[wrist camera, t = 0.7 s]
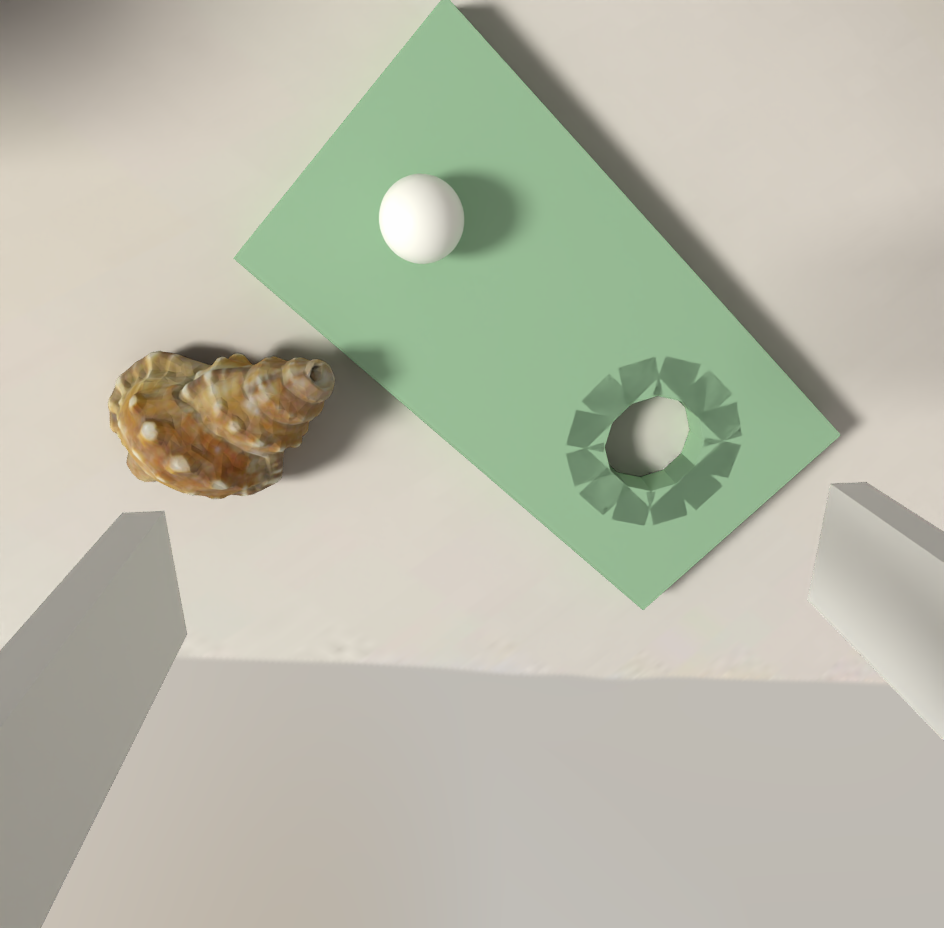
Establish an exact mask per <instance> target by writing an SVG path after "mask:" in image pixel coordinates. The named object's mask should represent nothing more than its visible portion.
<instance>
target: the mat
mask: <svg viewBox="0 0 944 928" xmlns="http://www.w3.org/2000/svg"><path fill="white" fill-rule="evenodd" d="M412 174H429V175H433V176H436V177H438V178H440V179H442V180H443V181H445V182H446V183H447V184H449V185H450V186H451V187H452V188H453V190H454V191H455V192H456V194H457V195H458V197H459V199H460V201H461V204H462V207H463V211H464V228H463V233H462V236H461V238H460V241H459V242H458V244H457V246H456V247H455V248H454V250H453V251H452V252H451V253H450V254H448V255H447V256H446V257H444V258H443V259H441V260H439V261H436V262H433V263H428V264H417V263H412V262H409V261H406V260H404V259H402V258H401V257H399V256H398V255H396V254H395V253H394V252H393V251H392V250H391V249H390V248H389V246H388V245H387V244H386V242H385V240H384V238H383V236H382V233H381V230H380V225H379V210H380V206H381V202H382V200H383V197H384V196H385V194H386V192H387V191H388V189H389V188H390V187H391V186H392V185H393V184H394V183H395V182H397V181H398V180H400V179H401V178H403V177H406V176H408V175H412ZM234 259H235V260H236V261H237V262H238V263H239V264H241V265H242V266H243V267H244V268H245V269H246V270H248V271H249V272H250V273H251V274H252V275H253V276H255V277H256V278H257V279H258V280H259V281H260V282H262V283H263V284H264V285H265V286H266V287H267V288H269V289H270V290H271V291H272V292H273V293H274V294H276V295H277V296H278V297H279V298H280V299H281V300H283V301H284V302H285V303H286V304H287V305H288V306H289V307H291V308H292V309H293V310H294V311H295V312H296V313H298V314H299V315H300V316H301V317H302V318H303V319H305V320H306V321H307V322H308V323H309V324H310V325H312V326H313V327H314V328H315V329H316V330H317V331H319V332H320V333H321V334H322V335H323V336H324V337H326V338H327V339H328V340H329V341H330V342H331V343H333V344H334V345H335V346H336V347H337V348H338V349H340V350H341V351H342V352H343V353H344V354H345V355H347V356H348V357H349V358H350V359H351V360H352V361H354V362H355V363H356V364H357V365H358V366H359V367H360V368H362V369H363V370H364V371H365V372H366V373H367V374H369V375H370V376H371V377H372V378H373V379H374V380H376V381H377V382H378V383H379V384H380V385H381V386H383V387H384V388H385V389H386V390H387V391H388V392H390V393H391V394H392V395H393V396H394V397H395V398H397V399H398V400H399V401H400V402H401V403H402V404H404V405H405V406H406V407H407V408H408V409H409V410H411V411H412V412H413V413H414V414H415V415H416V416H418V417H419V418H420V419H421V420H422V421H423V422H425V423H426V424H427V425H428V426H429V427H430V428H431V429H433V430H434V431H435V432H436V433H437V434H438V435H440V436H441V437H442V438H443V439H444V440H445V441H447V442H448V443H449V444H450V445H451V446H452V447H454V448H455V449H456V450H457V451H458V452H459V453H461V454H462V455H463V456H464V457H465V458H466V459H468V460H469V461H470V462H471V463H472V464H473V465H475V466H476V467H477V468H478V469H479V470H480V471H482V472H483V473H484V474H485V475H486V476H487V477H489V478H490V479H491V480H492V481H493V482H494V483H495V484H497V485H498V486H499V487H500V488H501V489H502V490H504V491H505V492H506V493H507V494H508V495H509V496H511V497H512V498H513V499H514V500H515V501H516V502H518V503H519V504H520V505H521V506H522V507H523V508H525V509H526V510H527V511H528V512H529V513H530V514H532V515H533V516H534V517H535V518H536V519H537V520H539V521H540V522H541V523H542V524H543V525H544V526H546V527H547V528H548V529H549V530H550V531H551V532H553V533H554V534H555V535H556V536H557V537H558V538H560V539H561V540H562V541H563V542H564V543H565V544H566V545H568V546H569V547H570V548H571V549H572V550H573V551H575V552H576V553H577V554H578V555H579V556H580V557H582V558H583V559H584V560H585V561H586V562H587V563H589V564H590V565H591V566H592V567H593V568H594V569H596V570H597V571H598V572H599V573H600V574H601V575H603V576H604V577H605V578H606V579H607V580H608V581H610V582H611V583H612V584H613V585H614V586H615V587H617V588H618V589H619V590H620V591H621V592H622V593H624V594H625V595H626V596H627V597H628V598H629V599H630V600H632V601H633V602H634V603H635V604H636V605H637V606H639V607H640V608H641V609H642V610H644V609H645V608H646V607H647V606H649V605H650V604H651V603H652V602H653V601H654V600H655V599H656V598H658V597H659V596H660V595H661V594H662V593H663V592H664V591H665V590H667V589H668V588H669V587H670V586H671V585H672V584H673V583H674V582H676V581H677V580H678V579H679V578H680V577H681V576H682V575H684V574H685V573H686V572H687V571H688V570H689V569H690V568H691V567H693V566H694V565H695V564H696V563H697V562H698V561H699V560H700V559H702V558H703V557H704V556H705V555H706V554H707V553H708V552H709V551H711V550H712V549H713V548H714V547H715V546H716V545H717V544H719V543H720V542H721V541H722V540H723V539H724V538H725V537H726V536H728V535H729V534H730V533H731V532H732V531H733V530H734V529H735V528H737V527H738V526H739V525H740V524H741V523H742V522H743V521H744V520H746V519H747V518H748V517H749V516H750V515H751V514H752V513H754V512H755V511H756V510H757V509H758V508H759V507H760V506H761V505H763V504H764V503H765V502H766V501H767V500H768V499H769V498H770V497H772V496H773V495H774V494H775V493H776V492H777V491H778V490H779V489H781V488H782V487H783V486H784V485H785V484H786V483H787V482H789V481H790V480H791V479H792V478H793V477H794V476H795V475H796V474H798V473H799V472H800V471H801V470H802V469H803V468H804V467H805V466H807V465H808V464H809V463H810V462H811V461H812V460H813V459H814V458H816V457H817V456H818V455H819V454H820V453H821V452H822V451H824V450H825V449H826V448H827V447H828V446H829V445H830V444H831V443H833V442H834V441H835V440H836V439H837V438H838V437H839V436H840V433H839V432H838V431H837V430H836V429H835V428H834V427H833V426H832V425H831V423H830V422H829V421H828V420H827V419H826V418H825V417H824V416H823V415H822V413H821V412H820V411H819V410H818V409H817V408H816V407H815V406H814V405H813V403H812V402H811V401H810V400H809V399H808V398H807V397H806V396H805V395H804V393H803V392H802V391H801V390H800V389H799V388H798V387H797V386H796V385H795V383H794V382H793V381H792V380H791V379H790V378H789V377H788V376H787V375H786V373H785V372H784V371H783V370H782V369H781V368H780V367H779V366H778V365H777V363H776V362H775V361H774V360H773V359H772V358H771V357H770V356H769V355H768V353H767V352H766V351H765V350H764V349H763V348H762V347H761V346H760V345H759V343H758V342H757V341H756V340H755V339H754V338H753V337H752V336H751V335H750V333H749V332H748V331H747V330H746V329H745V328H744V327H743V326H742V325H741V323H740V322H739V321H738V320H737V319H736V318H735V317H734V316H733V315H732V313H731V312H730V311H729V310H728V309H727V308H726V307H725V306H724V305H723V303H722V302H721V301H720V300H719V299H718V298H717V297H716V296H715V295H714V293H713V292H712V291H711V290H710V289H709V288H708V287H707V286H706V285H705V283H704V282H703V281H702V280H701V279H700V278H699V277H698V276H697V275H696V273H695V272H694V271H693V270H692V269H691V268H690V267H689V266H688V264H687V263H686V262H685V261H684V260H683V259H682V258H681V257H680V256H679V254H678V253H677V252H676V251H675V250H674V249H673V248H672V247H671V246H670V244H669V243H668V242H667V241H666V240H665V239H664V238H663V237H662V236H661V234H660V233H659V232H658V231H657V230H656V229H655V228H654V227H653V226H652V224H651V223H650V222H649V221H648V220H647V219H646V218H645V217H644V216H643V214H642V213H641V212H640V211H639V210H638V209H637V208H636V207H635V206H634V204H633V203H632V202H631V201H630V200H629V199H628V198H627V197H626V196H625V194H624V193H623V192H622V191H621V190H620V189H619V188H618V187H617V186H616V184H615V183H614V182H613V181H612V180H611V179H610V178H609V177H608V176H607V174H606V173H605V172H604V171H603V170H602V169H601V168H600V167H599V166H598V164H597V163H596V162H595V161H594V160H593V159H592V158H591V157H590V156H589V154H588V153H587V152H586V151H585V150H584V149H583V148H582V147H581V146H580V144H579V143H578V142H577V141H576V140H575V139H574V138H573V137H572V136H571V134H570V133H569V132H568V131H567V130H566V129H565V128H564V127H563V126H562V124H561V123H560V122H559V121H558V120H557V119H556V118H555V117H554V116H553V114H552V113H551V112H550V111H549V110H548V109H547V108H546V107H545V106H544V104H543V103H542V102H541V101H540V100H539V99H538V98H537V97H536V96H535V94H534V93H533V92H532V91H531V90H530V89H529V88H528V87H527V86H526V84H525V83H524V82H523V81H522V80H521V79H520V78H519V77H518V76H517V74H516V73H515V72H514V71H513V70H512V69H511V68H510V67H509V66H508V64H507V63H506V62H505V61H504V60H503V59H502V58H501V57H500V56H499V54H498V53H497V52H496V51H495V50H494V49H493V48H492V47H491V46H490V44H489V43H488V42H487V41H486V40H485V39H484V38H483V37H482V35H481V34H480V33H479V32H478V31H477V30H476V29H475V28H474V27H473V25H472V24H471V23H470V22H469V21H468V20H467V19H466V18H465V17H464V15H463V14H462V13H461V12H460V11H459V10H458V9H457V8H456V7H455V5H454V4H453V3H452V2H451V1H450V0H441V1H440V2H439V3H438V5H437V6H436V7H435V8H434V10H433V11H432V12H431V13H430V15H429V16H428V17H427V18H426V20H425V21H424V22H423V23H422V25H421V26H420V27H419V28H418V29H417V31H416V32H415V33H414V34H413V36H412V37H411V38H410V39H409V41H408V42H407V43H406V44H405V46H404V47H403V48H402V49H401V51H400V52H399V53H398V54H397V56H396V57H395V58H394V59H393V61H392V62H391V63H390V64H389V66H388V67H387V68H386V69H385V70H384V72H383V73H382V74H381V75H380V77H379V78H378V79H377V80H376V82H375V83H374V84H373V85H372V87H371V88H370V89H369V90H368V92H367V93H366V94H365V95H364V97H363V98H362V99H361V100H360V102H359V103H358V104H357V105H356V107H355V108H354V109H353V110H352V111H351V113H350V114H349V115H348V116H347V118H346V119H345V120H344V121H343V123H342V124H341V125H340V126H339V128H338V129H337V130H336V131H335V133H334V134H333V135H332V136H331V138H330V139H329V140H328V141H327V143H326V144H325V145H324V146H323V148H322V149H321V150H320V151H319V152H318V154H317V155H316V156H315V157H314V159H313V160H312V161H311V162H310V164H309V165H308V166H307V167H306V169H305V170H304V171H303V172H302V174H301V175H300V176H299V177H298V179H297V180H296V181H295V182H294V184H293V185H292V186H291V187H290V189H289V190H288V191H287V192H286V194H285V195H284V196H283V197H282V198H281V200H280V201H279V202H278V203H277V205H276V206H275V207H274V208H273V210H272V211H271V212H270V213H269V215H268V216H267V217H266V218H265V220H264V221H263V222H262V223H261V225H260V226H259V227H258V228H257V230H256V231H255V232H254V233H253V235H252V236H251V237H250V238H249V239H248V241H247V242H246V243H245V244H244V246H243V247H242V248H241V249H240V251H239V252H238V253H237V254H236V256H235V257H234ZM656 396H660V397H665V398H669V399H674V400H678V401H679V402H680V403H681V404H682V405H683V406H684V407H685V409H686V414H687V419H688V424H689V429H690V431H689V433H688V436H687V439H686V442H685V445H684V447H683V450H682V453H681V454H680V455H679V456H678V457H677V458H676V459H674V460H673V461H672V462H671V463H670V464H669V465H668V466H667V467H666V468H665V469H664V470H661V471H658V472H655V473H651V474H648V475H645V476H642V477H638V476H633V475H628V474H623V473H618V472H616V471H615V470H614V469H613V468H612V467H611V466H610V465H609V463H608V459H607V455H606V451H605V444H606V441H607V438H608V435H609V432H610V429H611V426H612V423H613V422H614V421H615V420H616V419H617V418H618V417H619V416H620V415H621V414H622V413H623V412H624V411H625V410H626V409H627V408H628V407H629V406H630V405H631V404H633V403H636V402H639V401H643V400H646V399H649V398H652V397H656Z"/></svg>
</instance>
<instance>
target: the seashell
mask: <svg viewBox="0 0 944 928" xmlns="http://www.w3.org/2000/svg"><path fill="white" fill-rule="evenodd" d="M334 384H335V377H334V374H333V372H332V369H331V367H330V366H329V365H328V364H327V363H326V362H325V361H322V360H319V359H313V360H311V361H310V360H308V359H305V358H302V357H299V358H296V357H295V358H293V359H292V360H290V361H286V360H283V359H280V358H278V357H275V356H272V357H269V358H264V359H263V360H261V361H260V362H258V363H257V364H254V365H253V364H251V363H250V362H249V361H248V359H247V358H246V357H245V356H244V355H242V354H239V353H236V354H233V355H232V356H231V357H230V358H229V359H227V358H225V357H220V358H217V359H216V361H215V362H214V364H213V365H208V364H205V363H201V362H199V361H196V360H193V359H190V358H187V357H184V356H182V355H179V354H174V353H169V352H162V351H157V352H152V353H150V354H148V355H147V356H146V357H144V358H143V359H141V360H139V361H137V362H136V363H135V364H133V365H132V366H131V367H130V368H129V369H128V370H127V371H125V372H124V373H123V374H121V375H120V376H119V377H118V379H117V380H116V385H115V388H114V391H113V393H112V395H111V397H110V398H109V400H108V408H109V411H110V428H111V429H112V431H113V432H115V433H116V434H117V435H118V437H119V438H120V440H121V443H122V445H123V446H125V447H126V449H127V450H128V452H129V453H128V457H127V465H128V467H129V469H130V470H131V472H132V473H133V474H134V475H135V476H136V477H137V478H138V479H139V480H142V481H144V482H151V481H159V482H160V483H162V484H164V485H166V486H168V487H170V488H173V489H175V490H177V491H180V492H182V493H187V494H190V495H200V496H207V497H209V498H211V499H222V498H225V497H226V496H228V495H240V496H247V495H252V494H255V493H256V492H259V491H261V490H263V489H265V488H267V487H269V486H271V485H273V484H275V483H277V482H278V481H279V480H280V479H281V478H282V474H283V455H284V450H285V449H286V448H288V447H293V448H296V447H299V446H300V445H301V444H302V436H304V435H305V434H306V433H307V432H308V426H309V421H311V420H313V419H314V418H315V417H316V416H319V414H320V413H321V411H322V409H323V407H324V401H325V400H326V399H328V398H329V396H330V395H331V393H332V391H333V388H334Z"/></svg>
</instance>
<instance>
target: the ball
mask: <svg viewBox="0 0 944 928" xmlns="http://www.w3.org/2000/svg"><path fill="white" fill-rule="evenodd" d="M379 225H380V230H381V233H382V236H383V238H384V240H385V242H386V244H387V245H388V246H389V248H390V249H391V250H392V251H393V252H394V253H395V254H396V255H398V256H399V257H401V258H402V259H404V260H406V261H409V262H412V263H417V264H428V263H433V262H436V261H439V260H441V259H443V258H444V257H446V256H447V255H448V254H450V253H451V252H452V251H453V250H454V248H455V247H456V246H457V244H458V242H459V241H460V238H461V236H462V233H463V228H464V211H463V207H462V204H461V201H460V199H459V197H458V195H457V194H456V192H455V191H454V190H453V188H452V187H451V186H450V185H449V184H447V183H446V182H445V181H443V180H442V179H440V178H438V177H436V176H433V175H429V174H412V175H408V176H406V177H403V178H401V179H400V180H398V181H397V182H395V183H394V184H393V185H392V186H391V187H390V188H389V189H388V191H387V192H386V194H385V196H384V197H383V200H382V202H381V206H380V210H379Z"/></svg>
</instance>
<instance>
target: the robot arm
mask: <svg viewBox="0 0 944 928" xmlns="http://www.w3.org/2000/svg"><path fill="white" fill-rule="evenodd" d="M807 601H808V602H809V603H810V604H811V605H812V606H813V607H814V608H815V609H816V610H817V611H818V612H819V613H820V614H821V615H822V616H823V617H824V618H825V619H826V620H827V621H828V622H829V623H830V624H831V625H832V626H833V627H834V628H835V629H836V630H837V631H838V632H839V633H840V635H841V636H842V637H843V638H844V639H845V640H846V641H847V642H848V643H849V644H850V645H851V646H852V647H853V648H854V649H855V650H856V651H857V652H858V653H859V654H860V655H861V656H862V657H863V658H864V659H865V660H866V661H867V662H868V663H869V664H870V665H871V666H872V667H873V669H874V670H875V671H876V672H877V673H878V674H879V675H880V676H881V677H882V678H883V679H884V680H885V681H886V682H887V683H888V684H889V685H890V686H891V687H892V688H893V689H894V690H895V691H896V692H897V693H898V694H899V695H900V696H901V697H902V698H903V699H904V700H905V701H906V703H907V704H909V706H910V707H911V708H913V710H914V711H915V712H916V713H917V714H918V715H919V716H920V717H921V718H922V719H923V720H924V721H925V722H926V723H927V724H928V725H929V726H930V727H931V728H932V729H933V730H934V731H935V732H936V733H937V734H938V735H939V737H941V739H942V740H943V741H944V532H943V531H942V530H940V529H939V528H937V527H936V526H934V525H932V524H931V523H929V522H928V521H926V520H925V519H923V518H921V517H920V516H918V515H917V514H915V513H914V512H912V511H911V510H909V509H907V508H906V507H904V506H903V505H901V504H900V503H898V502H896V501H895V500H893V499H892V498H890V497H889V496H887V495H886V494H884V493H882V492H881V491H879V490H878V489H876V488H875V487H873V486H871V485H870V484H868V483H867V482H860V483H835V484H830V488H829V493H828V498H827V503H826V508H825V513H824V519H823V524H822V529H821V534H820V539H819V544H818V549H817V554H816V559H815V564H814V569H813V574H812V579H811V585H810V590H809V595H808V600H807ZM186 635H187V631H186V625H185V620H184V614H183V609H182V604H181V598H180V593H179V588H178V582H177V577H176V571H175V566H174V561H173V555H172V550H171V544H170V539H169V534H168V528H167V523H166V518H165V512H164V511H155V512H130V513H122V514H121V515H120V516H119V517H118V518H117V519H116V521H115V522H114V523H113V524H112V525H111V526H110V527H109V528H108V530H107V531H106V532H105V533H104V534H103V535H102V536H101V537H100V539H99V540H98V541H97V542H96V543H95V544H94V545H93V547H92V548H91V549H90V550H89V551H88V552H87V553H86V554H85V556H84V557H83V558H82V559H81V560H80V561H79V562H78V563H77V565H76V566H75V567H74V568H73V569H72V570H71V571H70V573H69V574H68V575H67V576H66V577H65V578H64V579H63V580H62V582H61V583H60V584H59V585H58V586H57V587H56V588H55V589H54V591H53V592H52V593H51V594H50V595H49V596H48V597H47V599H46V600H45V601H44V602H43V603H42V604H41V605H40V606H39V608H38V609H37V610H36V611H35V612H34V613H33V614H32V615H31V617H30V618H29V619H28V620H27V621H26V622H25V623H24V625H23V626H22V627H21V628H20V629H19V630H18V631H17V632H16V634H15V635H14V636H13V637H12V638H11V639H10V640H9V641H8V643H7V644H6V645H5V646H4V647H3V648H2V649H1V651H0V928H41V927H42V925H43V923H44V921H45V919H46V917H47V914H48V913H49V911H50V909H51V906H52V904H53V902H54V900H55V898H56V896H57V894H58V892H59V890H60V888H61V886H62V884H63V882H64V880H65V878H66V876H67V874H68V872H69V870H70V868H71V866H72V864H73V862H74V860H75V858H76V856H77V854H78V852H79V850H80V848H81V846H82V844H83V842H84V840H85V838H86V836H87V834H88V832H89V830H90V828H91V826H92V824H93V822H94V820H95V818H96V816H97V814H98V812H99V810H100V808H101V806H102V804H103V802H104V800H105V798H106V796H107V794H108V792H109V790H110V788H111V786H112V784H113V782H114V780H115V778H116V776H117V774H118V772H119V770H120V767H121V766H122V764H123V762H124V760H125V758H126V756H127V754H128V752H129V750H130V748H131V746H132V744H133V742H134V740H135V738H136V736H137V734H138V732H139V730H140V728H141V726H142V724H143V722H144V720H145V718H146V716H147V714H148V711H149V710H150V707H151V706H152V704H153V702H154V700H155V697H156V696H157V694H158V692H159V690H160V688H161V685H162V684H163V681H164V680H165V678H166V675H167V673H168V671H169V669H170V667H171V665H172V663H173V661H174V659H175V657H176V655H177V653H178V651H179V649H180V647H181V645H182V643H183V641H184V639H185V637H186Z"/></svg>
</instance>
